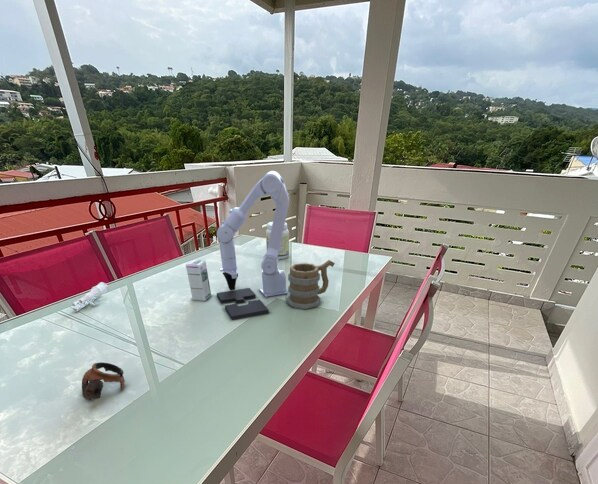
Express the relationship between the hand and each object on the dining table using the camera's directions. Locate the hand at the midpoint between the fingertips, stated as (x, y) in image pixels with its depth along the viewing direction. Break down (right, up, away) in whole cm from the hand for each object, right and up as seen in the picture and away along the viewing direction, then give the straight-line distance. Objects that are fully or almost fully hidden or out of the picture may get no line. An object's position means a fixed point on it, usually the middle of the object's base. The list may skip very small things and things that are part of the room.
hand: (232, 289), depth 139 cm
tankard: (+33, -6, -6) cm, 34 cm away
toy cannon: (-52, -9, -11) cm, 54 cm away
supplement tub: (+17, +28, +41) cm, 52 cm away
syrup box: (-11, -5, -5) cm, 13 cm away
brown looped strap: (-22, -39, -54) cm, 70 cm away
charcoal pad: (+8, -11, -14) cm, 20 cm away
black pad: (+3, -5, -5) cm, 7 cm away
